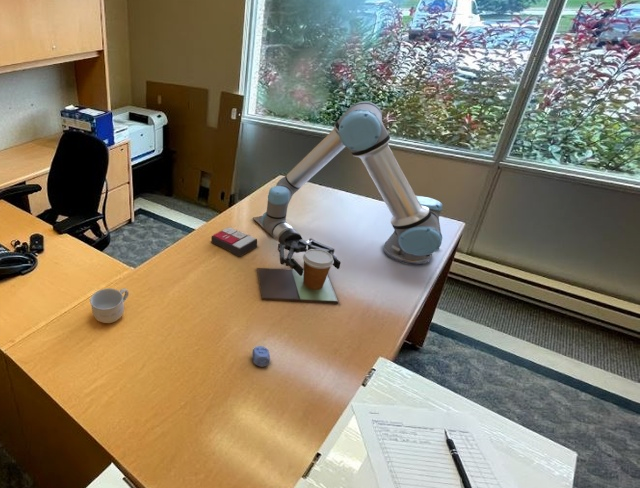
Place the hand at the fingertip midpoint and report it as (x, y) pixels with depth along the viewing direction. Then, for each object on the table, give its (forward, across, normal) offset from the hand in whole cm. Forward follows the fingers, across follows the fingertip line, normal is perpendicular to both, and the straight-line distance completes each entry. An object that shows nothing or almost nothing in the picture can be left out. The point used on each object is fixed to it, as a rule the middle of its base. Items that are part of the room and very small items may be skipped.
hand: (320, 269), depth 139 cm
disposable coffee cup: (-2, 0, -8) cm, 8 cm away
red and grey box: (-35, +15, -9) cm, 39 cm away
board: (-4, +6, -9) cm, 11 cm away
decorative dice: (+24, +33, -9) cm, 41 cm away
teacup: (-6, +70, -9) cm, 71 cm away
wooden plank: (-44, -4, -9) cm, 45 cm away
